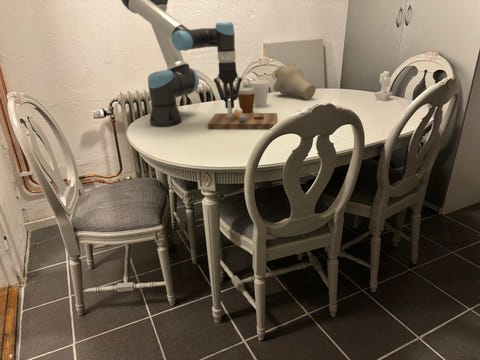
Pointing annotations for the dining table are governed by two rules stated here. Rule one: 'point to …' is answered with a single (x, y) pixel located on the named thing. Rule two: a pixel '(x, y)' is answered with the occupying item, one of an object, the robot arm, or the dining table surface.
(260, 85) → the foam cup
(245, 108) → the disposable coffee cup
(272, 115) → the board
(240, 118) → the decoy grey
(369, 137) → the dining table surface
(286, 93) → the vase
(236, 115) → the ball
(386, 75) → the figurine
